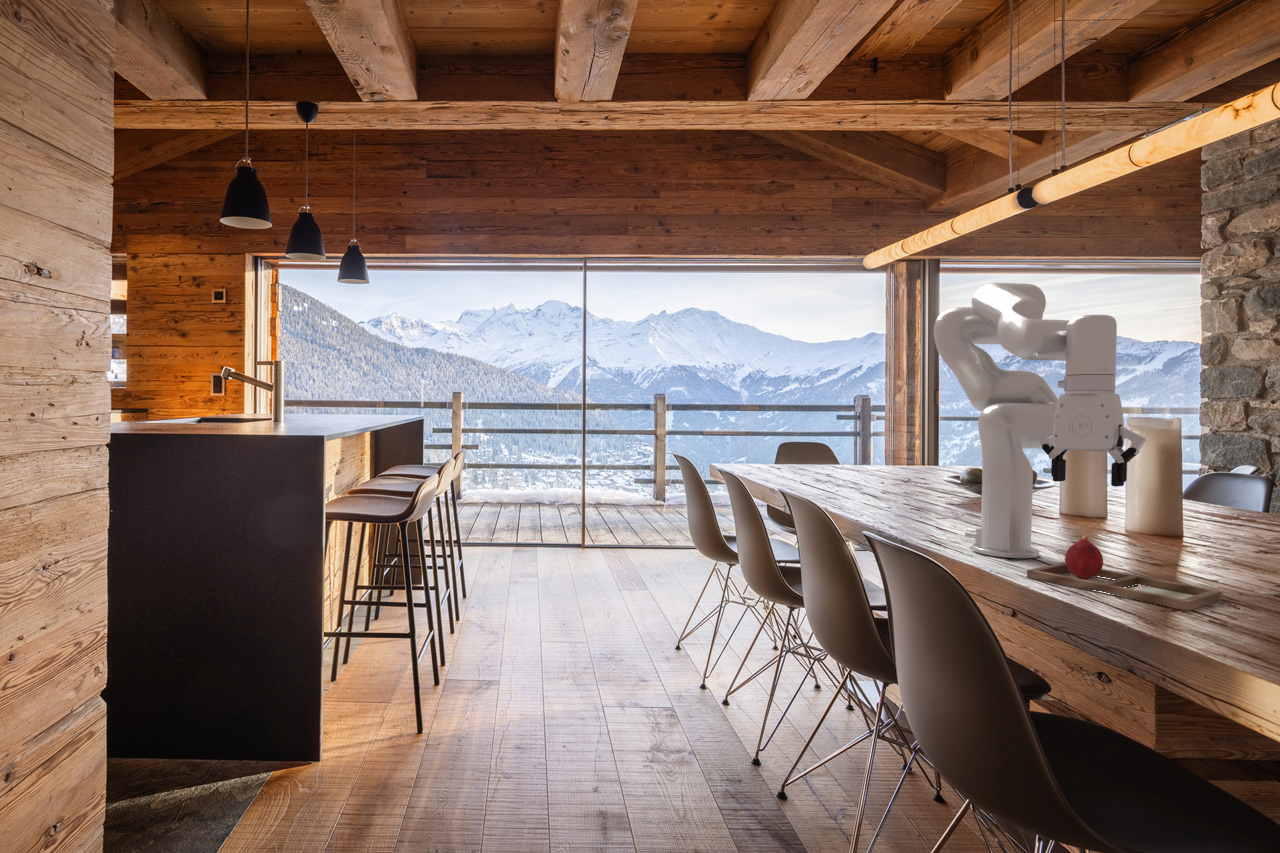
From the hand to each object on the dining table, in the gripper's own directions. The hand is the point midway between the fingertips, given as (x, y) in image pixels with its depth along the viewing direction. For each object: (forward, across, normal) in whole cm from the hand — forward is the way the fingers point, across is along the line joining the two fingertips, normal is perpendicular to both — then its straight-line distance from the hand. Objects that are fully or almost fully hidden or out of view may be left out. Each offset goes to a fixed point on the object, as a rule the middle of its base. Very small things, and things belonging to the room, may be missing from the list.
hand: (1087, 483), depth 127 cm
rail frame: (+17, +5, 0) cm, 18 cm away
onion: (+18, 0, 0) cm, 18 cm away
